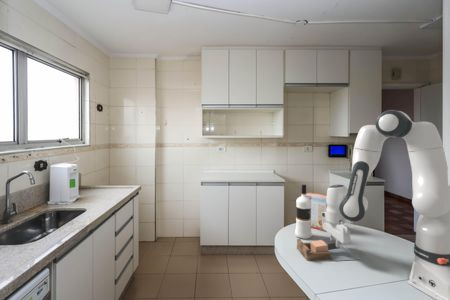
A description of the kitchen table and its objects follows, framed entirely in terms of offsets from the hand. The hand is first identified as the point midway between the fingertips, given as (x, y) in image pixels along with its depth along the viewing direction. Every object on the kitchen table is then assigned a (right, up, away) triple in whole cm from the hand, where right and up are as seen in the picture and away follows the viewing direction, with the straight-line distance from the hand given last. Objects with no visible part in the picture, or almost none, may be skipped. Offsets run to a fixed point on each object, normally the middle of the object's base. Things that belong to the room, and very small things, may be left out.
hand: (335, 245), depth 125 cm
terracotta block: (-4, -3, 0) cm, 6 cm away
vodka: (-9, -3, +21) cm, 23 cm away
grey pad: (+2, -4, +1) cm, 4 cm away
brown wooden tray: (-10, -4, 0) cm, 11 cm away
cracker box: (+3, -2, +34) cm, 34 cm away
